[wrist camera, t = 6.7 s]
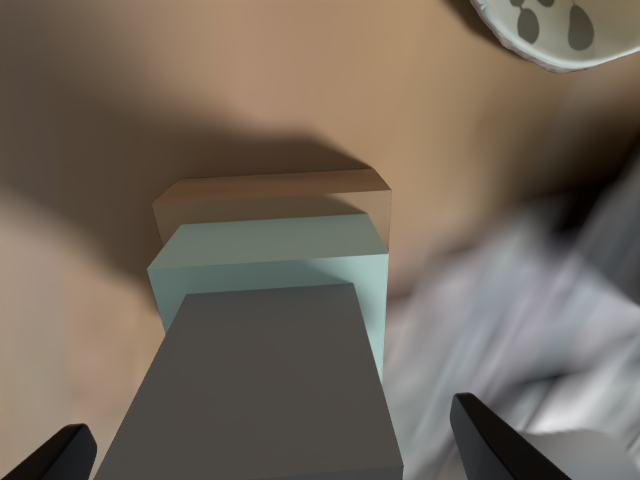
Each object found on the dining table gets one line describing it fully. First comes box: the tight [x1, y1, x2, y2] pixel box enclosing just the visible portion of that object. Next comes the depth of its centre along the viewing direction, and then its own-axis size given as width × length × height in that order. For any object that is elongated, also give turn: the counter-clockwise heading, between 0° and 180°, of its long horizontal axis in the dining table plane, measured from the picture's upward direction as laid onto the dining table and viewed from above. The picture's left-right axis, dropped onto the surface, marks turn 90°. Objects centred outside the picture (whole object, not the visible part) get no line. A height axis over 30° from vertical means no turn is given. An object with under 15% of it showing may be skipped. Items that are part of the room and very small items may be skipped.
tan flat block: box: [151, 169, 392, 252], centre depth 15 cm, size 8×8×3 cm
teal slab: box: [147, 214, 389, 385], centre depth 12 cm, size 6×6×3 cm
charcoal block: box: [93, 283, 404, 480], centre depth 8 cm, size 5×5×5 cm
